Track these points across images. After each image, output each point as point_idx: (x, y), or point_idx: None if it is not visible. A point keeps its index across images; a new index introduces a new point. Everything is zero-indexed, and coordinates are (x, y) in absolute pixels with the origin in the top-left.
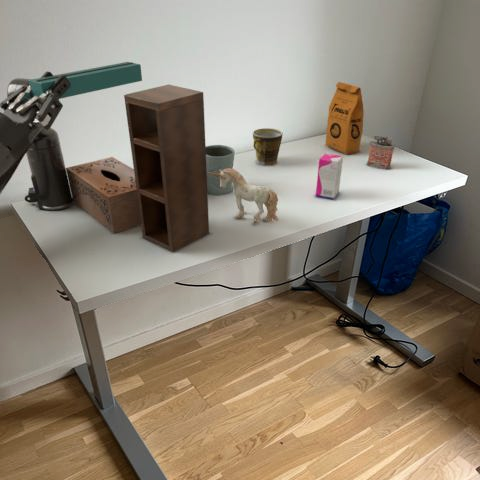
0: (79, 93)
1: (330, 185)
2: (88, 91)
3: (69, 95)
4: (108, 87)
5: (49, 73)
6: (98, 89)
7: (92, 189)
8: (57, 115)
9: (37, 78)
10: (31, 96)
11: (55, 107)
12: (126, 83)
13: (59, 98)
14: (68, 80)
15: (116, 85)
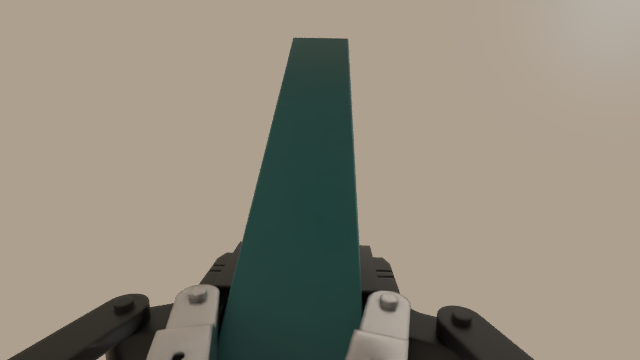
0: (258, 179)
1: None
2: (266, 149)
3: (248, 219)
4: (278, 98)
5: None
6: (272, 122)
7: None
8: (23, 351)
9: None
10: (416, 352)
11: (118, 336)
12: (287, 63)
13: (235, 268)
14: None
15: (282, 82)
